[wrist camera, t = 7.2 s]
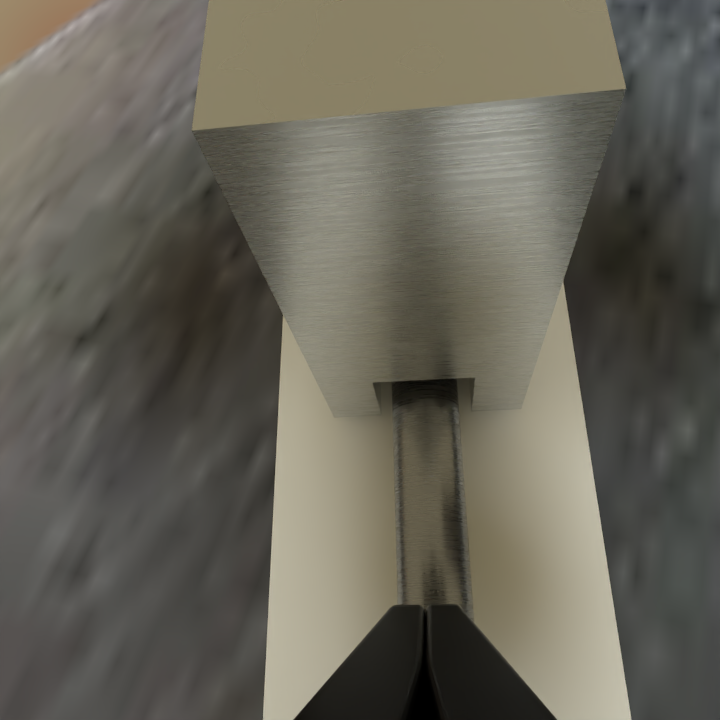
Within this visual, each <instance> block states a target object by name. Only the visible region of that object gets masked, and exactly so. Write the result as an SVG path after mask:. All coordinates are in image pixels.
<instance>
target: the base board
mask: <svg viewBox="0 0 720 720" xmlns="http://www.w3.org/2000/svg"><path fill="white" fill-rule="evenodd" d="M457 387H458V401H459V415H460V429H461V443H462V457H463V471H464V485H465V499H466V513H467V526H468V540H469V554H470V568H471V582H472V596H473V610H474V623H475V624H476V625H477V627H478V628H479V629H480V630H481V631H482V632H483V634H484V635H485V636H486V637H487V638H488V639H489V641H490V642H491V643H492V644H493V645H494V646H495V648H496V649H497V650H498V651H499V652H500V653H501V655H502V656H503V657H504V658H505V659H506V660H507V662H508V663H509V664H510V665H511V666H512V667H513V669H514V670H515V671H516V672H517V673H518V674H519V676H520V677H521V678H522V679H523V680H524V681H525V683H526V684H527V685H528V686H529V687H530V688H531V690H532V691H533V692H534V693H535V694H536V695H537V697H538V698H539V699H540V700H541V701H542V702H543V704H544V705H545V706H546V707H547V708H548V709H549V711H550V712H551V713H552V714H553V715H554V716H555V718H556V719H557V720H631V714H630V708H629V701H628V695H627V689H626V682H625V676H624V669H623V663H622V656H621V650H620V644H619V637H618V631H617V624H616V618H615V611H614V605H613V599H612V592H611V586H610V579H609V573H608V566H607V560H606V554H605V547H604V541H603V534H602V528H601V521H600V515H599V508H598V502H597V496H596V489H595V483H594V476H593V470H592V463H591V457H590V451H589V444H588V438H587V431H586V425H585V418H584V412H583V406H582V399H581V393H580V386H579V380H578V373H577V367H576V361H575V354H574V348H573V341H572V335H571V328H570V322H569V315H568V309H567V303H566V296H565V290H564V283H562V286H561V289H560V292H559V295H558V298H557V301H556V304H555V307H554V310H553V313H552V316H551V319H550V322H549V326H548V329H547V332H546V335H545V338H544V341H543V344H542V347H541V350H540V353H539V356H538V359H537V362H536V365H535V368H534V371H533V374H532V377H531V381H530V384H529V387H528V390H527V393H526V396H525V399H524V402H523V405H522V408H521V409H515V410H493V411H471V399H470V387H469V378H457ZM393 605H398V604H397V566H396V529H395V492H394V455H393V418H392V382H381V415H380V416H357V417H335V418H334V416H333V414H332V412H331V410H330V408H329V406H328V404H327V402H326V400H325V398H324V396H323V394H322V392H321V390H320V388H319V386H318V384H317V382H316V380H315V378H314V376H313V374H312V372H311V370H310V368H309V366H308V364H307V362H306V360H305V358H304V356H303V354H302V352H301V350H300V348H299V346H298V344H297V342H296V340H295V338H294V336H293V334H292V332H291V330H290V327H289V325H288V323H287V321H286V319H285V317H284V315H283V327H282V347H281V367H280V388H279V408H278V428H277V448H276V468H275V488H274V508H273V528H272V548H271V568H270V588H269V608H268V629H267V649H266V669H265V689H264V709H263V720H293V719H294V718H295V717H296V716H297V715H298V714H299V712H300V711H301V710H302V709H303V708H304V707H305V705H306V704H307V703H308V702H309V701H310V700H311V699H312V697H313V696H314V695H315V694H316V693H317V692H318V690H319V689H320V688H321V687H322V686H323V685H324V683H325V682H326V681H327V680H328V679H329V678H330V677H331V675H332V674H333V673H334V672H335V671H336V670H337V668H338V667H339V666H340V665H341V664H342V663H343V661H344V660H345V659H346V658H347V657H348V656H349V655H350V653H351V652H352V651H353V650H354V649H355V648H356V646H357V645H358V644H359V643H360V642H361V641H362V639H363V638H364V637H365V636H366V635H367V634H368V632H369V631H370V630H371V629H372V628H373V627H374V626H375V624H376V623H377V622H378V621H379V620H380V619H381V617H382V616H383V615H384V614H385V613H386V612H387V610H388V609H389V608H390V607H392V606H393Z"/></svg>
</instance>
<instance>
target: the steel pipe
mask: <svg viewBox="0 0 720 720" xmlns="http://www.w3.org/2000/svg"><path fill="white" fill-rule="evenodd" d="M392 418H393V455H394V492H395V529H396V566H397V604H398V605H422V606H423V607H424V609H425V613H426V608H427V606H429V605H431V604H457V605H459V606H460V607H461V608H462V609H463V610H464V611H465V613H466V614H467V615H468V616H469V617H470V618H471V620H472V621H473V622H474V610H473V596H472V582H471V568H470V554H469V540H468V526H467V513H466V499H465V485H464V471H463V457H462V443H461V429H460V415H459V401H458V387H457V378H454V379H434V380H414V381H394V382H392Z"/></svg>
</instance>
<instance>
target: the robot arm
mask: <svg viewBox="0 0 720 720" xmlns="http://www.w3.org/2000/svg"><path fill="white" fill-rule="evenodd" d="M293 720H557V719H556V718H555V716H554V715H553V714H552V713H551V712H550V711H549V709H548V708H547V707H546V706H545V705H544V704H543V702H542V701H541V700H540V699H539V698H538V697H537V695H536V694H535V693H534V692H533V691H532V690H531V688H530V687H529V686H528V685H527V684H526V683H525V681H524V680H523V679H522V678H521V677H520V676H519V674H518V673H517V672H516V671H515V670H514V669H513V667H512V666H511V665H510V664H509V663H508V662H507V660H506V659H505V658H504V657H503V656H502V655H501V653H500V652H499V651H498V650H497V649H496V648H495V646H494V645H493V644H492V643H491V642H490V641H489V639H488V638H487V637H486V636H485V635H484V634H483V632H482V631H481V630H480V629H479V628H478V627H477V625H476V624H475V623H474V622H473V621H472V620H471V618H470V617H469V616H468V615H467V614H466V613H465V611H464V610H463V609H462V608H461V607H460V606H459V605H457V604H431V605H429V606H427V608H426V613H425V609H424V607H423V606H422V605H393V606H392V607H390V608H389V609H388V610H387V612H386V613H385V614H384V615H383V616H382V617H381V619H380V620H379V621H378V622H377V623H376V624H375V626H374V627H373V628H372V629H371V630H370V631H369V632H368V634H367V635H366V636H365V637H364V638H363V639H362V641H361V642H360V643H359V644H358V645H357V646H356V648H355V649H354V650H353V651H352V652H351V653H350V655H349V656H348V657H347V658H346V659H345V660H344V661H343V663H342V664H341V665H340V666H339V667H338V668H337V670H336V671H335V672H334V673H333V674H332V675H331V677H330V678H329V679H328V680H327V681H326V682H325V683H324V685H323V686H322V687H321V688H320V689H319V690H318V692H317V693H316V694H315V695H314V696H313V697H312V699H311V700H310V701H309V702H308V703H307V704H306V705H305V707H304V708H303V709H302V710H301V711H300V712H299V714H298V715H297V716H296V717H295V718H294V719H293Z"/></svg>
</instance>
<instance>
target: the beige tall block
mask: <svg viewBox="0 0 720 720" xmlns="http://www.w3.org/2000/svg"><path fill="white" fill-rule="evenodd" d="M625 90H626V86H625V82H624V78H623V74H622V69H621V65H620V61H619V57H618V52H617V48H616V44H615V40H614V35H613V31H612V27H611V23H610V18H609V14H608V10H607V6H606V1H605V0H209V5H208V13H207V20H206V28H205V35H204V43H203V50H202V58H201V65H200V73H199V80H198V88H197V95H196V103H195V110H194V118H193V125H192V132H193V134H194V136H195V138H196V140H197V142H198V144H199V146H200V148H201V150H202V152H203V154H204V156H205V158H206V160H207V162H208V164H209V166H210V168H211V170H212V172H213V174H214V176H215V178H216V180H217V182H218V184H219V186H220V188H221V190H222V192H223V194H224V197H225V199H226V201H227V203H228V205H229V207H230V209H231V211H232V213H233V215H234V217H235V219H236V221H237V223H238V225H239V227H240V229H241V231H242V233H243V235H244V237H245V239H246V241H247V243H248V245H249V247H250V249H251V251H252V253H253V255H254V257H255V259H256V261H257V263H258V265H259V267H260V269H261V271H262V273H263V275H264V277H265V279H266V281H267V283H268V285H269V287H270V289H271V291H272V293H273V295H274V297H275V299H276V301H277V303H278V305H279V307H280V309H281V311H282V313H283V315H284V317H285V319H286V321H287V323H288V325H289V327H290V330H291V332H292V334H293V336H294V338H295V340H296V342H297V344H298V346H299V348H300V350H301V352H302V354H303V356H304V358H305V360H306V362H307V364H308V366H309V368H310V370H311V372H312V374H313V376H314V378H315V380H316V382H317V384H318V386H319V388H320V390H321V392H322V394H323V396H324V398H325V400H326V402H327V404H328V406H329V408H330V410H331V412H332V414H333V416H334V418H335V417H357V416H380V415H381V382H394V381H414V380H434V379H454V378H469V387H470V399H471V411H493V410H515V409H521V408H522V405H523V402H524V399H525V396H526V393H527V390H528V387H529V384H530V381H531V377H532V374H533V371H534V368H535V365H536V362H537V359H538V356H539V353H540V350H541V347H542V344H543V341H544V338H545V335H546V332H547V329H548V326H549V322H550V319H551V316H552V313H553V310H554V307H555V304H556V301H557V298H558V295H559V292H560V289H561V286H562V283H563V280H564V277H565V274H566V271H567V267H568V264H569V261H570V258H571V255H572V252H573V249H574V246H575V243H576V240H577V237H578V234H579V231H580V228H581V225H582V222H583V219H584V216H585V212H586V209H587V206H588V203H589V200H590V197H591V194H592V191H593V188H594V185H595V182H596V179H597V176H598V173H599V170H600V167H601V164H602V161H603V158H604V154H605V151H606V148H607V145H608V142H609V139H610V136H611V133H612V130H613V127H614V124H615V121H616V118H617V115H618V112H619V109H620V106H621V103H622V99H623V96H624V93H625Z"/></svg>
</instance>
